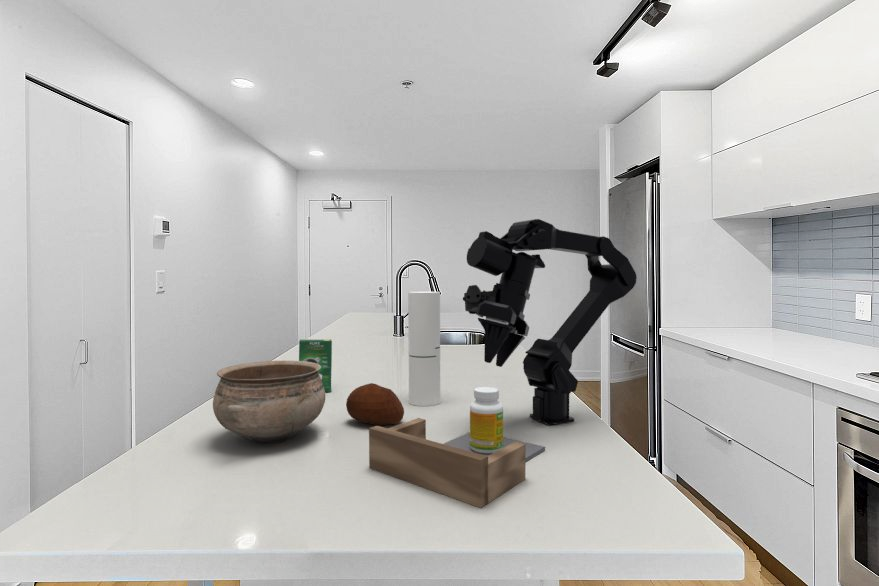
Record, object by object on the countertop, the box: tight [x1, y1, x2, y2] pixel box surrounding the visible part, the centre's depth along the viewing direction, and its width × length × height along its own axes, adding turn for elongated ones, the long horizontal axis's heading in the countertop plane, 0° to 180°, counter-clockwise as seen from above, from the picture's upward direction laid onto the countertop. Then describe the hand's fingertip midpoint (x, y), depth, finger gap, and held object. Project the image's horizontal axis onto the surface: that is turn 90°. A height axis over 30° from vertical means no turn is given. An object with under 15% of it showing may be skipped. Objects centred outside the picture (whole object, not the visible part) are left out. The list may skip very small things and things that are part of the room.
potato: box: [345, 382, 405, 426], centre depth 95 cm, size 8×12×8 cm, turn 85°
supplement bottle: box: [469, 386, 504, 454], centre depth 80 cm, size 5×5×10 cm
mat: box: [442, 431, 546, 463], centre depth 81 cm, size 12×14×1 cm
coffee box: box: [298, 339, 333, 393], centre depth 121 cm, size 8×3×13 cm, turn 103°
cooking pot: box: [212, 360, 326, 444], centre depth 88 cm, size 25×19×12 cm
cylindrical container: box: [407, 291, 441, 407], centre depth 111 cm, size 7×7×25 cm
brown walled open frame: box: [368, 417, 527, 509], centre depth 71 cm, size 11×20×6 cm, turn 51°
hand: (493, 364), depth 90 cm, fingers open, 9 cm apart
